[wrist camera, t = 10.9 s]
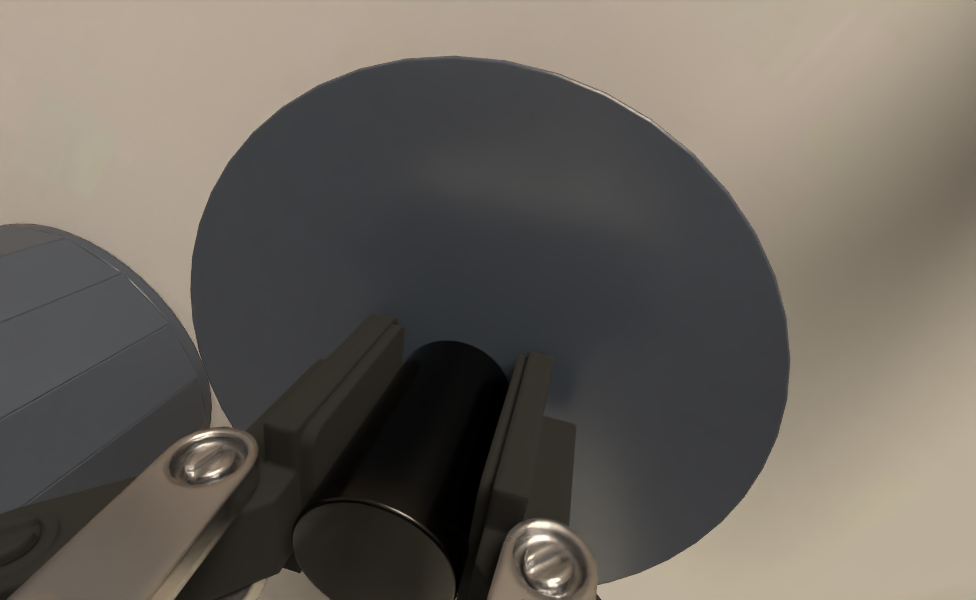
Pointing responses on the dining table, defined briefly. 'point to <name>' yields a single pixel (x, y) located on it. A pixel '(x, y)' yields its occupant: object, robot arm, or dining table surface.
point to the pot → (86, 369)
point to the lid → (493, 311)
